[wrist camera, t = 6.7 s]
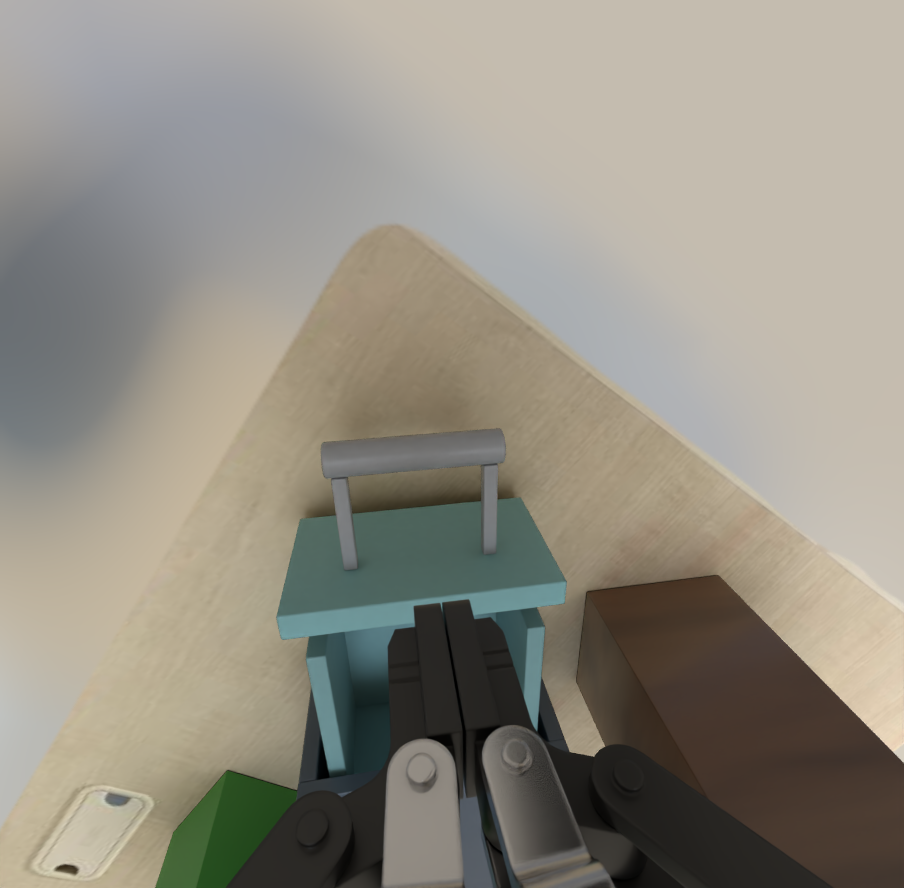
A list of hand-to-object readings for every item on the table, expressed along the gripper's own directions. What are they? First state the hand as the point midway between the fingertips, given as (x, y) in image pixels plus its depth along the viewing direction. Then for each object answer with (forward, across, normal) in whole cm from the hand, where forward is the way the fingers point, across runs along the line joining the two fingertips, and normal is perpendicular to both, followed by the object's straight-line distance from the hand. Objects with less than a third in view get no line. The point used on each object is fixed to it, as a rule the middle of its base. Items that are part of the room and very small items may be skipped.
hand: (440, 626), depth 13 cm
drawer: (+12, 0, +8) cm, 14 cm away
